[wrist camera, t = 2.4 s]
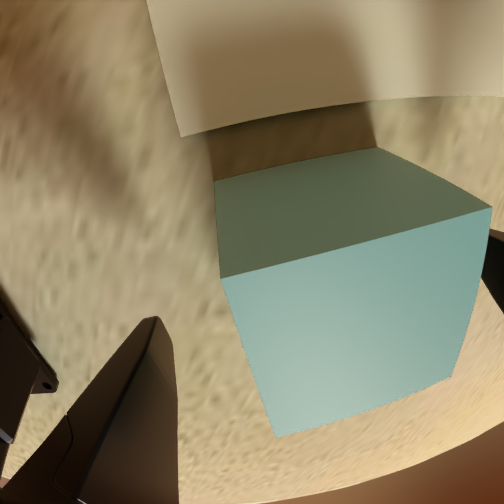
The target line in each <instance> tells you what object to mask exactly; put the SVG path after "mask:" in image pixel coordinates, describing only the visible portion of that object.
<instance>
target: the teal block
mask: <svg viewBox="0 0 504 504" xmlns="http://www.w3.org/2000/svg"><path fill="white" fill-rule="evenodd" d="M214 193H215V209H216V224H217V238H218V252H219V265H220V278H221V282H222V285H223V288H224V291H225V294H226V297H227V300H228V303H229V306H230V309H231V312H232V315H233V318H234V321H235V324H236V327H237V330H238V333H239V336H240V339H241V342H242V345H243V348H244V351H245V354H246V357H247V359H248V362H249V365H250V368H251V371H252V374H253V377H254V379H255V382H256V385H257V388H258V391H259V394H260V396H261V399H262V402H263V405H264V407H265V410H266V413H267V416H268V418H269V421H270V424H271V426H272V429H273V432H274V435H275V437H281V436H285V435H289V434H293V433H297V432H301V431H305V430H309V429H312V428H316V427H319V426H323V425H326V424H330V423H333V422H336V421H340V420H343V419H346V418H349V417H352V416H355V415H358V414H361V413H364V412H367V411H370V410H372V409H375V408H378V407H381V406H383V405H386V404H389V403H391V402H394V401H396V400H399V399H401V398H404V397H406V396H409V395H411V394H413V393H416V392H418V391H420V390H423V389H425V388H427V387H429V386H431V385H434V384H436V383H438V382H440V381H442V380H444V379H446V378H448V377H451V375H452V372H453V369H454V367H455V364H456V361H457V358H458V356H459V353H460V350H461V347H462V344H463V341H464V338H465V334H466V331H467V328H468V325H469V321H470V318H471V314H472V311H473V307H474V303H475V299H476V295H477V291H478V287H479V283H480V278H481V274H482V269H483V264H484V259H485V253H486V248H487V242H488V236H489V229H490V222H491V214H492V206H490V205H488V204H487V203H485V202H483V201H482V200H480V199H478V198H477V197H475V196H473V195H471V194H470V193H468V192H466V191H464V190H463V189H461V188H459V187H457V186H456V185H454V184H452V183H450V182H448V181H446V180H445V179H443V178H441V177H439V176H437V175H435V174H433V173H431V172H429V171H427V170H425V169H423V168H421V167H419V166H417V165H415V164H413V163H411V162H409V161H407V160H405V159H403V158H401V157H398V156H396V155H394V154H392V153H390V152H388V151H385V150H383V149H381V148H379V147H374V148H368V149H362V150H356V151H351V152H345V153H340V154H334V155H329V156H324V157H319V158H314V159H309V160H304V161H299V162H294V163H290V164H285V165H280V166H276V167H271V168H267V169H263V170H258V171H254V172H250V173H246V174H241V175H237V176H233V177H229V178H225V179H221V180H217V181H214Z"/></svg>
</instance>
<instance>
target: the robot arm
mask: <svg viewBox="0 0 504 504" xmlns="http://www.w3.org/2000/svg"><path fill="white" fill-rule="evenodd" d="M481 278H482V280H483V282H484V283H485V285H486V287H487V288H488V290H489V292H490V293H491V295H492V297H493V298H494V300H495V302H496V303H497V305H498V306H499V308H500V309H501V310H502V312H503V313H504V232H501V231H497V230H493V229H489V236H488V242H487V248H486V253H485V259H484V264H483V269H482V274H481ZM58 385H59V381H58V380H57V378H56V377H55V376H54V375H53V373H52V372H51V371H50V370H49V368H48V367H47V366H46V365H45V363H44V362H43V361H42V359H41V358H40V357H39V356H38V354H37V353H36V352H35V350H34V349H33V348H32V346H31V345H30V343H29V342H28V341H27V339H26V338H25V336H24V335H23V334H22V332H21V331H20V329H19V328H18V326H17V325H16V323H15V322H14V320H13V319H12V317H11V316H10V314H9V313H8V311H7V310H6V308H5V306H4V305H3V303H2V302H1V300H0V479H1V475H2V471H3V467H4V464H5V460H6V456H7V453H8V449H9V446H10V444H13V443H14V441H15V438H16V435H17V432H18V429H19V426H20V423H21V420H22V417H23V414H24V411H25V408H26V405H27V402H28V400H29V397H30V394H39V393H54V392H56V391H57V388H58ZM177 428H178V397H177V386H176V376H175V365H174V353H173V344H172V341H171V338H170V336H169V334H168V332H167V330H166V328H165V326H164V324H163V322H162V320H161V319H160V318H159V317H158V316H153V317H148V318H144V319H143V320H142V321H141V322H140V323H139V324H138V325H137V326H136V328H135V329H134V330H133V331H132V332H131V334H130V335H129V336H128V337H127V338H126V340H125V341H124V342H123V343H122V344H121V346H120V347H119V348H118V349H117V351H116V352H115V353H114V354H113V355H112V357H111V358H110V359H109V360H108V362H107V363H106V364H105V365H104V366H103V368H102V369H101V370H100V371H99V373H98V374H97V375H96V376H95V378H94V379H93V380H92V381H91V383H90V384H89V385H88V386H87V388H86V389H85V390H84V391H83V393H82V394H81V395H80V396H79V398H78V399H77V400H76V402H75V403H74V404H73V405H72V407H71V408H70V409H69V410H68V412H67V415H64V417H63V418H62V419H61V421H60V422H59V423H58V425H57V426H56V427H55V428H54V430H53V431H52V432H51V433H50V435H49V436H48V437H47V438H46V440H45V441H44V442H43V443H42V444H41V445H40V447H39V448H38V449H37V450H36V451H35V452H34V453H33V455H32V456H31V457H30V458H29V459H28V460H27V461H26V462H25V464H24V465H23V466H22V467H21V468H20V469H19V470H18V471H17V472H16V474H15V475H14V476H13V477H12V478H11V479H10V480H9V482H8V483H7V484H6V485H5V486H4V487H3V488H0V504H179V492H178V439H177Z"/></svg>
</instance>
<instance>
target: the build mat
mask: <svg viewBox="0 0 504 504" xmlns="http://www.w3.org/2000/svg"><path fill="white" fill-rule="evenodd" d="M146 1H147V6H148V10H149V14H150V19H151V23H152V27H153V31H154V36H155V40H156V44H157V48H158V52H159V56H160V60H161V64H162V68H163V72H164V76H165V80H166V84H167V87H168V91H169V95H170V99H171V103H172V107H173V110H174V114H175V118H176V121H177V125H178V129H179V132H180V136H181V138H182V137H186V136H189V135H193V134H197V133H201V132H204V131H208V130H212V129H216V128H220V127H224V126H228V125H232V124H237V123H241V122H246V121H250V120H255V119H259V118H264V117H269V116H274V115H279V114H285V113H290V112H296V111H301V110H307V109H314V108H320V107H327V106H334V105H341V104H349V103H357V102H366V101H376V100H386V99H399V98H413V97H434V96H499V97H504V0H146Z"/></svg>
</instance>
